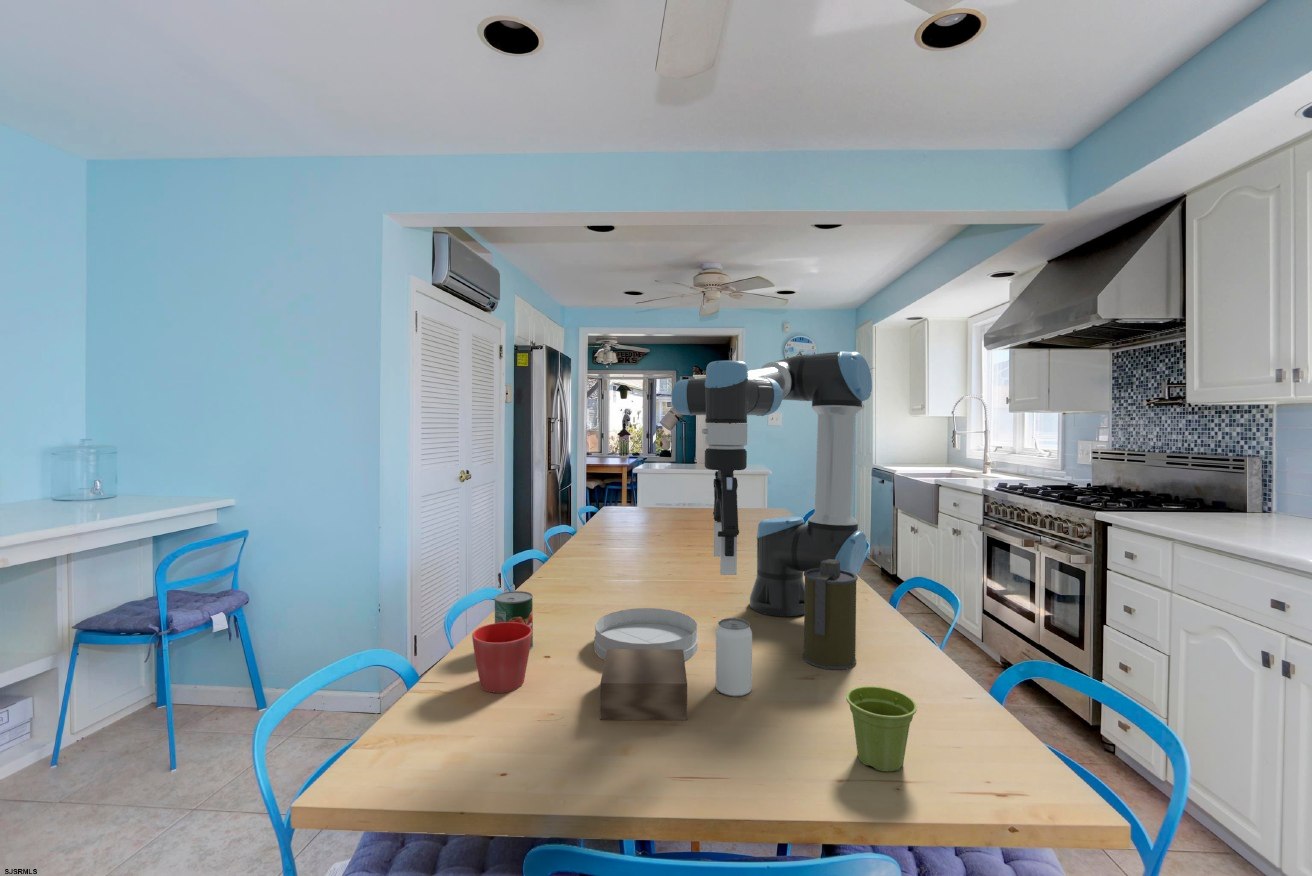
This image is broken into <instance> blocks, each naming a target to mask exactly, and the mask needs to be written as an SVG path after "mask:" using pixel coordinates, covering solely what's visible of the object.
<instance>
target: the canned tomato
mask: <svg viewBox="0 0 1312 876" xmlns="http://www.w3.org/2000/svg"><path fill="white" fill-rule="evenodd" d="M533 602H534V601H533V593H531V592H529V591H524V590H523V591H522V590H513V591H505V592H500V593H499V594H497V595H494V623H500V622H517V623H523V624H526V625H528V626H530V627H531V629H532V638H531V645H530V650H532V649H533V647H534V644H533V643H534V639H533V638H534V636H533V635H534V634H533V632H534V631H533V630H534V629H533V626H534V622H533V619H534V618H533V616H534V613H533V612H534V610H533V608H534V607H533V606H534V605H533V604H534V603H533Z"/></svg>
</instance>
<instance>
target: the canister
mask: <svg viewBox="0 0 1312 876" xmlns="http://www.w3.org/2000/svg"><path fill="white" fill-rule="evenodd" d="M803 577H804V584H805V604H804V614H803V618H804V619H803V620H804V621H803V627H804V628H803V630H804V631H803V653H802V658H803V660H804V661H805V662H806V663H807V664H809V665H812V666H814V667H816V668H819V669H823V670H829V671H843V670H849V669H852V668H853V667H854V666H855V665H856V664H857V659H856V645H857V644H856V640H857V639H856V638H857V637H856V635H857V634H856V631H857V629H856V627H857V581H858V575H857V574H856V575H855V574H854V573H851V572H848V571H845V570H840V561H839V560H833V559H828V560H825V561H821V564H820V567H818V568H815V569H809V570H807V571H805V572H803Z"/></svg>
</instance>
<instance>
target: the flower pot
mask: <svg viewBox="0 0 1312 876" xmlns="http://www.w3.org/2000/svg"><path fill="white" fill-rule="evenodd" d="M471 637H472V638H471V639H472V645H473V646H472V647H473V650H474V652H473V653H474V659H475V663H476V669H477V673H478V678H479V679H478V680H479V685H480V688H482V690H483V691H486V692H488V693H496V694H498V693H499V694H501V693H507V692H509V693H510V692H512V691H515V690H517V689H519V688H520V687H522V685H523V684H524V683H525V677H526V671H527V666H528V661H529V655H530V650H531V649H530V645H531V638H532V629H531V627H530V626H528V625H526V624H523V623H517V622H500V623H495V622H493V623H489V624H485V625H482V626H480V627H478V628H477V629H475V630H474V631H473V632H472V635H471Z"/></svg>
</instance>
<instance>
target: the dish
mask: <svg viewBox="0 0 1312 876" xmlns="http://www.w3.org/2000/svg"><path fill="white" fill-rule="evenodd" d="M594 630H595V631H594V633H595V636H594V637H593V638H594V641H593V642H594V643H593V644H594V652H595V653H596V655H597V656H598V657H599V656H600V657H599V658H601V659H602V660H604V659H605V658H606V653H607V649H683V654H684V662H686V661H688V660H690V659H691V658H692V656H693V657H694V656H695V655H696V653H697V652H698V647H699V646H698V645H699V641H698V640H699V637H698V631H697V630H698V623H697V622H696V620H695V619H694V618H692V617H691V616H689V615H687V614H685V613H682V612H680V611H677V610H671V609H666V608H665V609H664V608H656V607H655V608H653V607H651V608H650V607H641V608H640V607H639V608H637V607H636V608H628V609H622V610H617V611H614V612H613V611H612V612H610V613H608V614H605V615H603V616H602V617H600V618H599V619H598V620H597V621H596V622H595V626H594Z"/></svg>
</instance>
